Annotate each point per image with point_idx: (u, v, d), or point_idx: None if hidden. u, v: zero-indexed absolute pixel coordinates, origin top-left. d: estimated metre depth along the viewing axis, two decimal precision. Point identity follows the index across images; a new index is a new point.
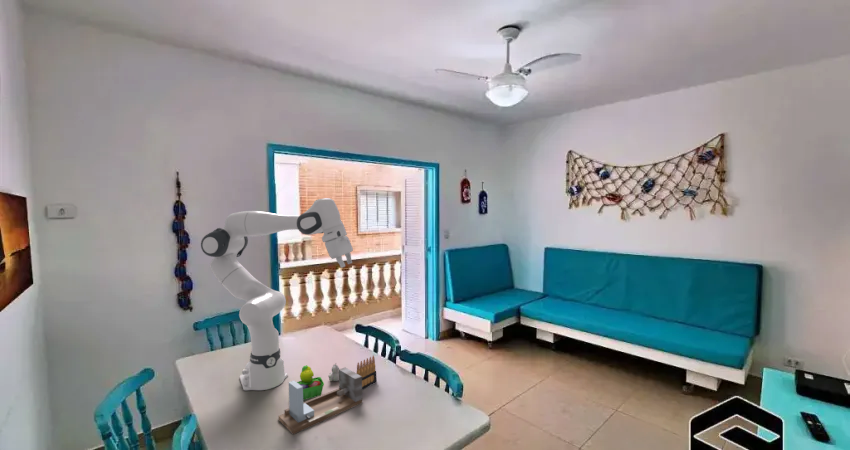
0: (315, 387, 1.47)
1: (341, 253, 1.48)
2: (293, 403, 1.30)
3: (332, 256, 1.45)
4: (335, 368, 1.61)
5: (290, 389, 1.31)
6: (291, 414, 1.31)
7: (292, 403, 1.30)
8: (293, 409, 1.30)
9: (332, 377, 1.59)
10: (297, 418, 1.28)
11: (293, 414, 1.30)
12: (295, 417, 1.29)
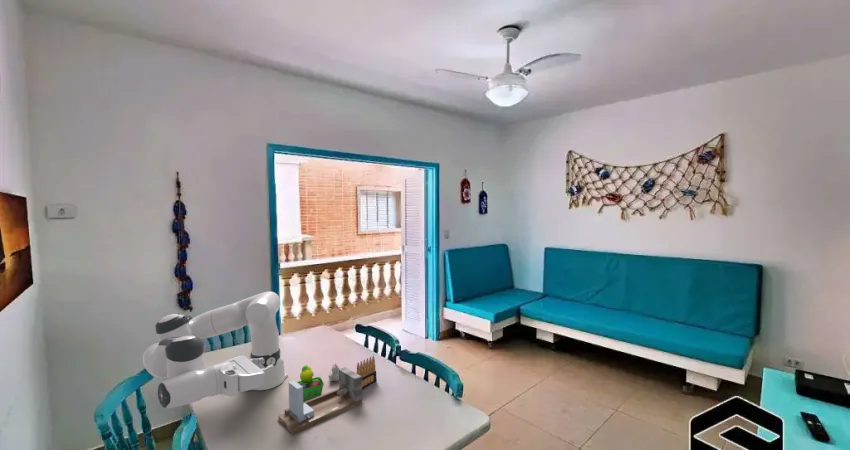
0: (315, 387, 1.47)
1: (258, 369, 1.15)
2: (293, 403, 1.30)
3: (262, 381, 1.12)
4: (335, 368, 1.61)
5: (290, 389, 1.31)
6: (291, 414, 1.31)
7: (292, 403, 1.30)
8: (293, 409, 1.30)
9: (332, 377, 1.59)
10: (297, 418, 1.28)
11: (293, 414, 1.30)
12: (295, 417, 1.29)
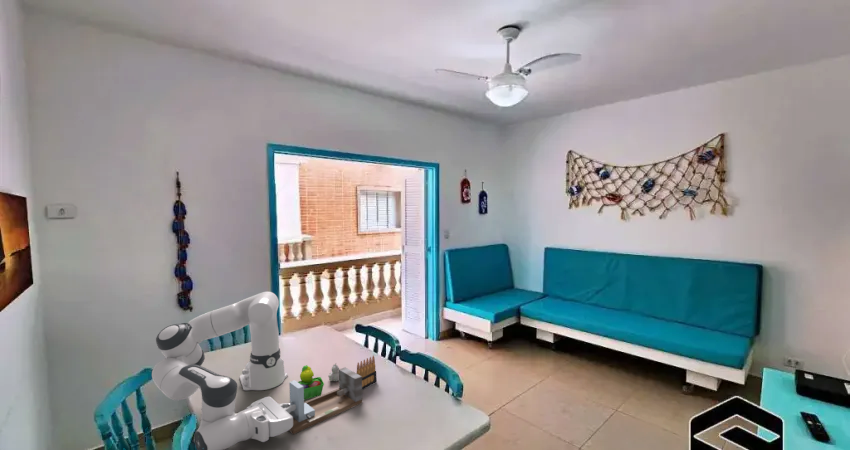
0: (315, 387, 1.47)
1: (286, 413, 1.21)
2: None
3: (291, 425, 1.19)
4: (335, 368, 1.61)
5: (291, 389, 1.31)
6: (292, 414, 1.31)
7: None
8: None
9: (332, 377, 1.59)
10: (298, 418, 1.28)
11: (293, 414, 1.30)
12: (295, 417, 1.29)
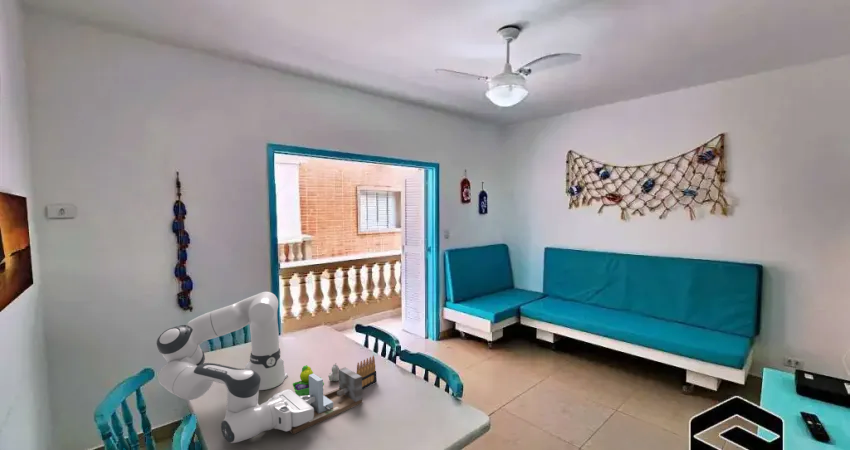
0: None
1: (307, 405, 1.27)
2: (313, 395, 1.35)
3: (312, 416, 1.24)
4: (335, 368, 1.61)
5: (310, 382, 1.36)
6: None
7: (313, 395, 1.35)
8: None
9: (332, 377, 1.59)
10: (318, 410, 1.33)
11: (313, 406, 1.36)
12: (315, 409, 1.35)
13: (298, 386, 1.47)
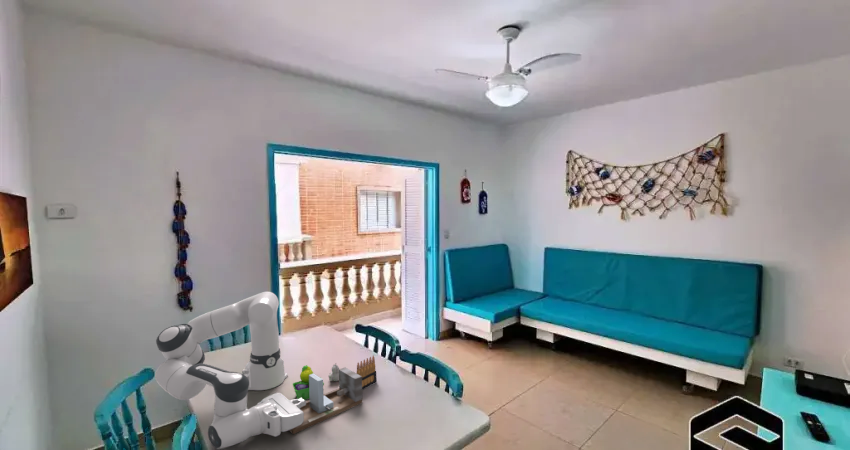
0: None
1: (297, 409, 1.24)
2: (313, 395, 1.35)
3: (302, 421, 1.21)
4: (335, 368, 1.61)
5: (310, 382, 1.36)
6: (311, 406, 1.37)
7: (313, 395, 1.35)
8: (313, 401, 1.35)
9: (332, 377, 1.59)
10: (318, 410, 1.33)
11: (313, 406, 1.36)
12: (315, 409, 1.35)
13: (298, 386, 1.47)
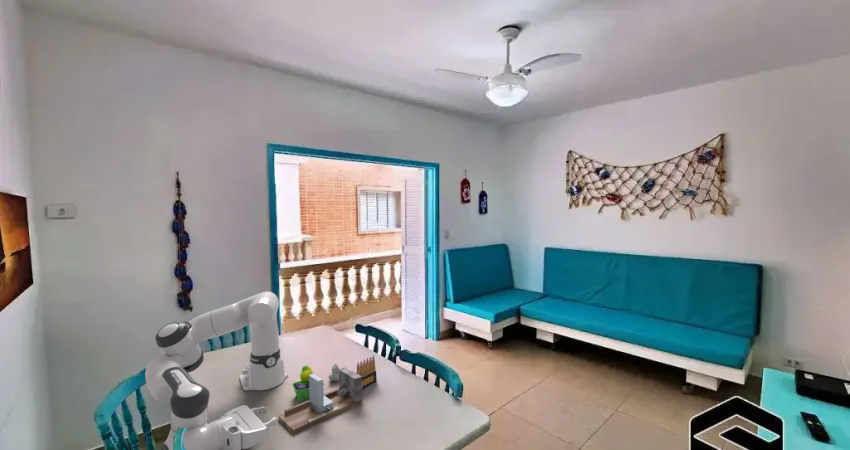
0: None
1: (261, 423, 1.16)
2: (313, 395, 1.35)
3: (265, 437, 1.13)
4: (335, 368, 1.61)
5: (310, 382, 1.36)
6: (311, 406, 1.37)
7: (313, 395, 1.35)
8: (313, 401, 1.35)
9: (332, 377, 1.59)
10: (318, 410, 1.33)
11: (313, 406, 1.36)
12: (315, 409, 1.35)
13: (298, 386, 1.47)
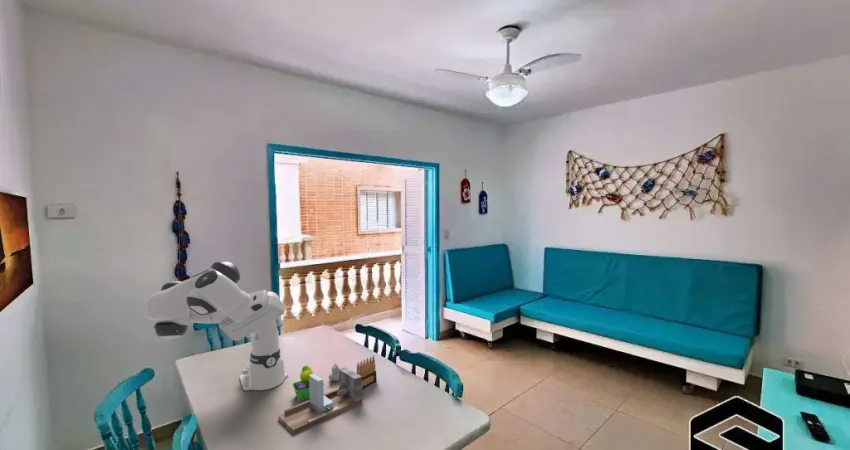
0: None
1: None
2: (313, 395, 1.35)
3: (284, 309, 1.23)
4: (335, 368, 1.61)
5: (310, 382, 1.36)
6: (311, 406, 1.37)
7: (313, 395, 1.35)
8: (313, 401, 1.35)
9: (332, 377, 1.59)
10: (318, 410, 1.33)
11: (313, 406, 1.36)
12: (315, 409, 1.35)
13: (298, 386, 1.47)
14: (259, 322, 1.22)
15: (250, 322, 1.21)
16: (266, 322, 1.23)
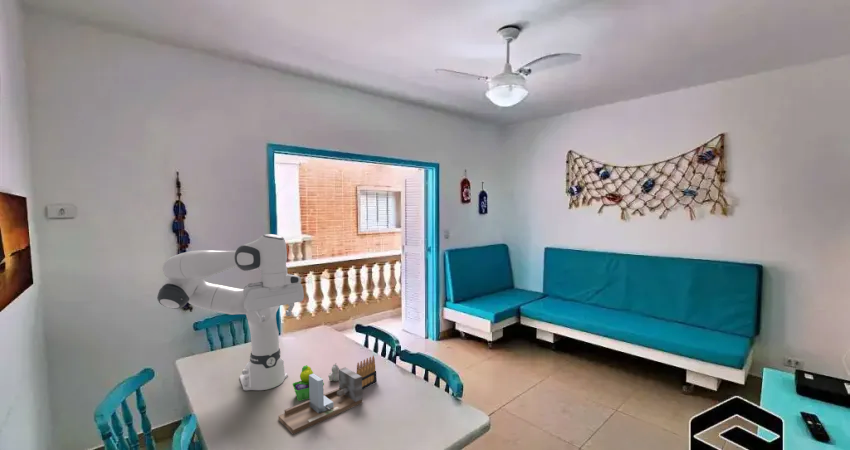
0: None
1: None
2: (313, 395, 1.35)
3: None
4: (335, 368, 1.61)
5: (310, 382, 1.36)
6: (311, 406, 1.37)
7: (313, 395, 1.35)
8: (313, 401, 1.35)
9: (332, 377, 1.59)
10: (318, 410, 1.33)
11: (313, 406, 1.36)
12: (315, 409, 1.35)
13: (298, 386, 1.47)
14: (280, 299, 1.30)
15: (274, 295, 1.28)
16: (285, 302, 1.31)
